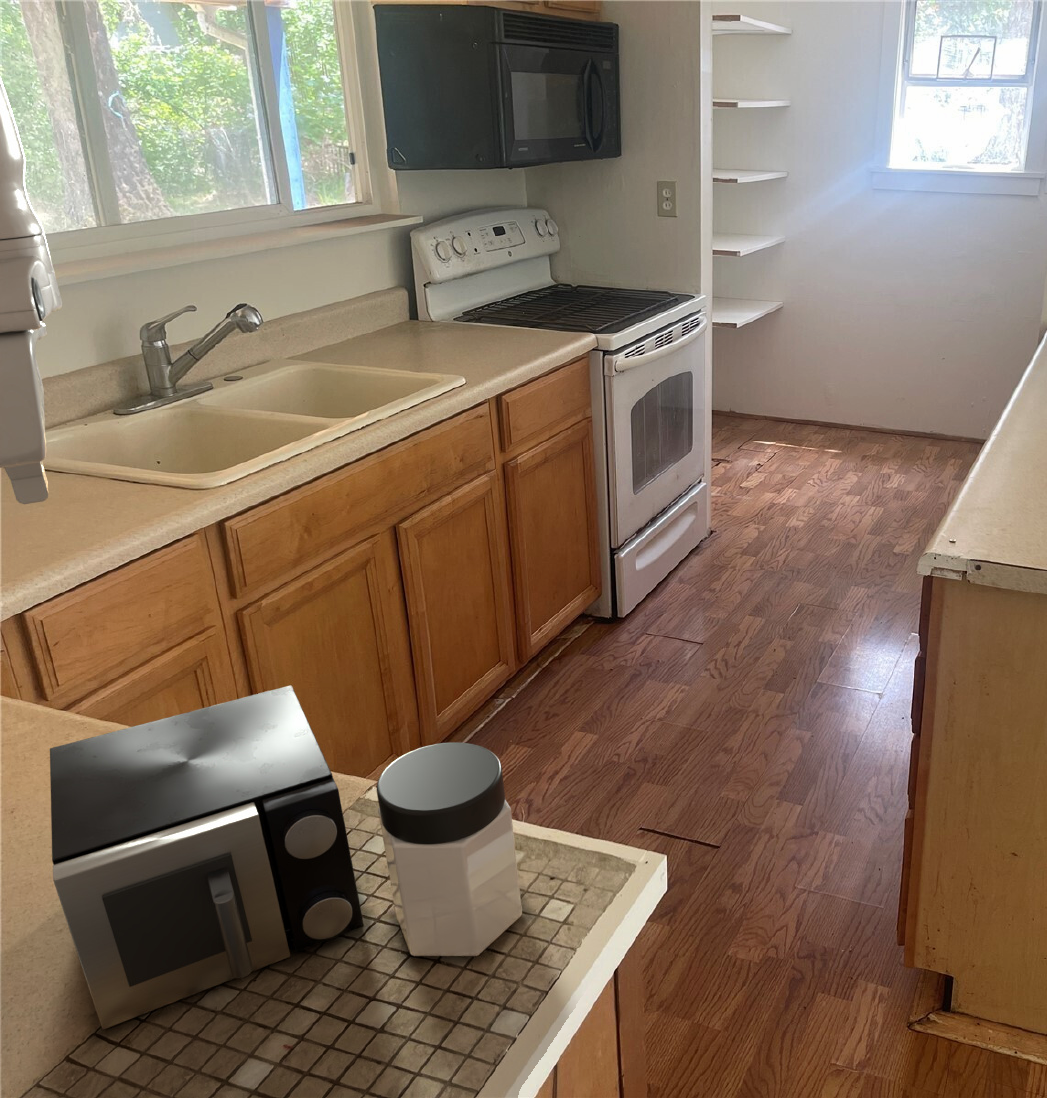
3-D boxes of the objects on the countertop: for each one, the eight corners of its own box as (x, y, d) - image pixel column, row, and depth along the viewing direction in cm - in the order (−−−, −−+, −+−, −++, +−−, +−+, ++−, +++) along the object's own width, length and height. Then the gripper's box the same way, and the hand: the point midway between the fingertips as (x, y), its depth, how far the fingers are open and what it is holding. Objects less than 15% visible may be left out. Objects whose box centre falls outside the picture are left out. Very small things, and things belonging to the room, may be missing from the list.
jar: (533, 877, 77) (519, 740, 72) (510, 959, 69) (493, 812, 65) (413, 877, 77) (392, 740, 72) (378, 959, 69) (351, 812, 65)
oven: (367, 936, 71) (340, 792, 67) (103, 1038, 63) (52, 883, 59) (316, 812, 84) (291, 684, 79) (92, 884, 76) (49, 748, 72)
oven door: (302, 991, 67) (269, 845, 62) (106, 1071, 61) (54, 917, 57) (286, 942, 71) (254, 801, 66) (101, 1013, 65) (52, 864, 61)
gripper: (-76, 272, 70) (-17, 465, 75) (-108, 314, 54) (-31, 555, 59) (33, 265, 73) (82, 450, 79) (33, 303, 57) (95, 533, 63)
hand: (34, 497), depth 69 cm, fingers closed
